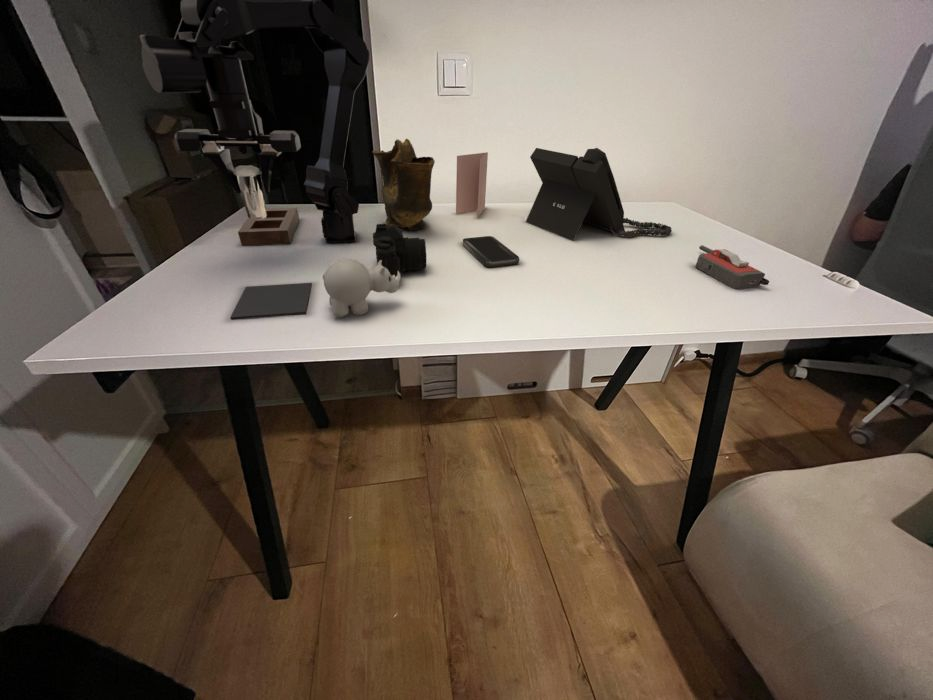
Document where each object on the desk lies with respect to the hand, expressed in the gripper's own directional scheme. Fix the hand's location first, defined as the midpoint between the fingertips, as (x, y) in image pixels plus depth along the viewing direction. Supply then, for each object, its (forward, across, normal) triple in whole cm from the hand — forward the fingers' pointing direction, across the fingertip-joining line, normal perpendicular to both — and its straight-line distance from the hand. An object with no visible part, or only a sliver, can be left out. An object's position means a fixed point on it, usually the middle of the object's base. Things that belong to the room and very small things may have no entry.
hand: (253, 192), depth 74 cm
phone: (+13, -46, +2) cm, 48 cm away
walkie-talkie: (+13, -92, +16) cm, 94 cm away
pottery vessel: (+13, -29, -20) cm, 38 cm away
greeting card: (+13, -50, -30) cm, 59 cm away
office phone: (+13, -79, -14) cm, 82 cm away
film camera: (+13, -26, +9) cm, 30 cm away
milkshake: (+5, 0, 0) cm, 5 cm away
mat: (+13, -4, +19) cm, 23 cm away
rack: (+13, +3, -18) cm, 23 cm away
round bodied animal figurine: (+13, -19, +23) cm, 33 cm away
